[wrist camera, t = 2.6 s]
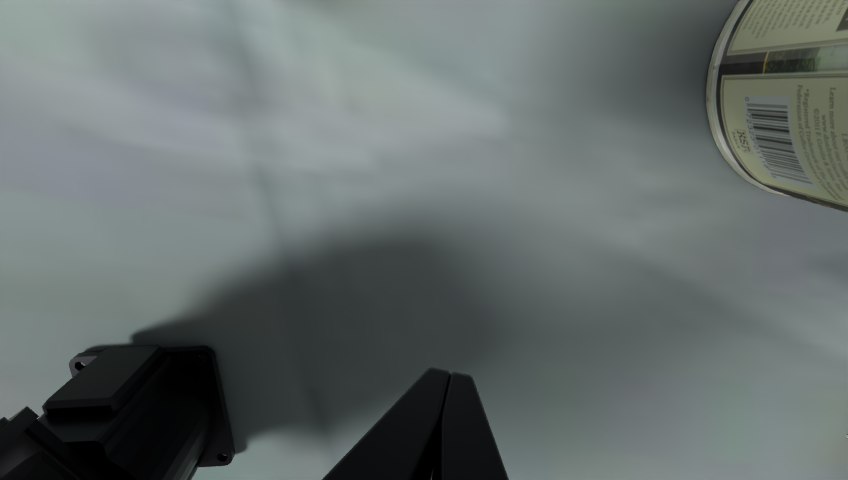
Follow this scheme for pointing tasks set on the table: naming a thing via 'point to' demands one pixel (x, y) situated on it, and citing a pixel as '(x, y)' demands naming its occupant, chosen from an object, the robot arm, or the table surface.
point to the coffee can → (784, 97)
